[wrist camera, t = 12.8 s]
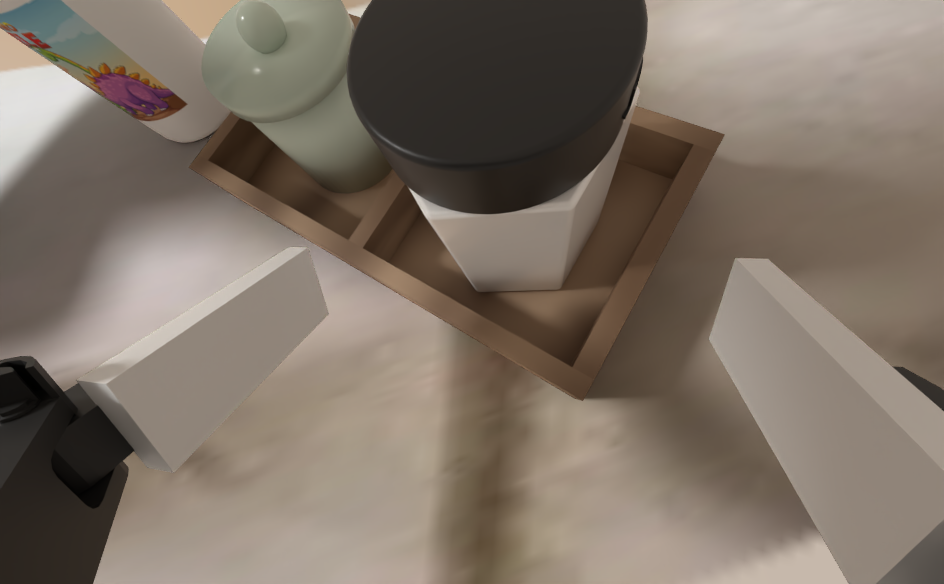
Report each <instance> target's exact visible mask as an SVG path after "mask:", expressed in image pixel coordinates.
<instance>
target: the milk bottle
mask: <svg viewBox="0 0 944 584" xmlns="http://www.w3.org/2000/svg"><path fill="white" fill-rule="evenodd" d="M0 28H1V29H3V30H4V31H6V32H7V33H8V34H10V35H11V36H13V37H14V38H16V39H17V40H19V41H20V42H22V43H23V44H25V45H26V46H28V47H29V48H31V49H32V50H34V51H35V52H37V53H38V54H40V55H41V56H43V57H44V58H46V59H47V60H49V61H50V62H51V63H53V64H54V65H56V66H57V67H59V68H60V69H62V70H63V71H65V72H66V73H68V74H69V75H71V76H72V77H74V78H75V79H77V80H78V81H80V82H81V83H83V84H84V85H86V86H87V87H89V88H90V89H92V90H93V91H95V92H96V93H98V94H99V95H101V96H102V97H104V98H105V99H107V100H108V101H110V102H111V103H113V104H114V105H116V106H117V107H119V108H120V109H122V110H123V111H125V112H126V113H128V114H129V115H131V116H132V117H134V118H135V119H137V120H138V121H140V122H141V123H143V124H144V125H146V126H147V127H149V128H150V129H152V130H154V131H155V132H157V133H158V134H160V135H162V136H163V137H165V138H167V139H169V140H172V141H176V142H183V143H187V142H194V141H197V140H200V139H202V138H204V137H207V136H208V135H210V134H211V133H213V132H214V131H216V130H217V129H218V128H219V127H220V125H221V124H222V123H223V121H224V120H225V119H226V117H227V116H228V115H229V114H230V112H231V111H230V110H229V109H227V108H226V107H225V106H224V105H223V104H222V103H221V102H220V101H218V100H217V99H216V98H215V97H214V96H213V95H212V94H211V93H210V92H209V90H208V89H207V87H206V85H205V83H204V81H203V77H202V69H201V65H202V57H203V52H204V49H205V46H206V45H205V44H204V43H203V42H202V41H201V40H200V39H199V38H198V37H197V36H196V35H195V34H194V33H193V32H192V31H191V30H190V28H189V27H188V26H187V25H185V23H184V22H182V20H181V19H180V18H179V17H178V16H177V15H176V14H175V13H174V12H173V11H172V10H171V9H170V8H169V7H168V6H167V5H166V4H165V3H164V2H163V1H162V0H0Z"/></svg>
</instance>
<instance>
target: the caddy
mask: <svg viewBox="0 0 944 584" xmlns="http://www.w3.org/2000/svg"><path fill="white" fill-rule="evenodd" d="M349 16H350V18H351V20H352V22H353V24H354V28H355V29H356V27H357V25H358V23H359V20H360V17H357V16H354V15H351V14H349ZM724 135H725V134H722V133H718V132H715V131H712V130H709V129H706V128H703V127H700V126H697V125H694V124H690V123H687V122H684V121H681V120H678V119H675V118H672V117H669V116H665V115H662V114H659V113H656V112H653V111H650V110H647V109H644V108H641V107H637V106H636V107H635V110H634V113H633V116H632V119H631V122H630V125H629V128H628V131H627V134H626V138H625V141H624V144H623V147H622V150H621V153H620V156H619V159H618V162H617V165H616V169H615V172H614V175H613V178H612V181H611V184H610V187H609V190H608V193H607V196H606V200H605V203H604V206H603V209H602V212H601V215H600V218H599V221H598V223H597V225H596V227H595V228H594V230H593V232H592V234H591V236H590V237H589V239H588V241H587V243H586V245H585V246H584V248H583V250H582V252H581V253H580V255H579V257H578V259H577V261H576V262H575V264H574V266H573V268H572V270H571V271H570V273H569V275H568V277H567V279H566V280H565V282H564V284H563V286H562V287H561V288H560V289H558V290H530V291H499V292H477V291H476V290H475V289H474V287H473V286H472V285H471V283H470V282H469V280H468V279H467V277H466V276H465V274H464V273H463V271H462V270H461V268H460V267H459V266H458V264H457V263H456V261H455V260H454V258H453V257H452V255H451V254H450V252H449V251H448V250H447V248H446V247H445V245H444V244H443V242H442V241H441V239H440V238H439V236H438V235H437V234H436V232H435V231H434V229H433V228H432V226H431V225H430V223H429V222H428V220H427V219H426V217H425V216H424V214H423V212H422V211H421V209H420V207H419V205H418V204H417V202H416V200H415V198H414V197H413V195H412V193H411V192H410V190H409V188H408V186H407V185H406V184H405V183H404V182H403V181H402V180H401V179H400V178H399V177H398V175H397V174H396V173H395V171H394V170H393V169H392V170H391V171H390V173H389V174H388V175H387V176H386V177H385V178H383V179H382V180H381V181H380V182H378V183H377V184H375V185H374V186H372V187H370V188H368V189H365V190H363V191H359V192H355V193H336V192H332V191H329V190H327V189H325V188H323V187H322V186H321V185H320V184H318V183H317V182H316V181H315V180H314V179H313V178H312V177H311V176H310V175H309V174H307V173H306V172H305V171H304V170H303V169H302V168H301V167H300V166H299V165H298V164H297V163H295V162H294V161H293V160H292V159H291V158H290V157H289V156H288V155H287V154H286V153H285V152H283V151H282V150H281V149H280V148H279V147H278V146H277V145H276V144H275V143H274V142H273V141H271V140H270V139H269V138H268V137H267V136H266V135H265V134H264V133H263V132H262V131H261V130H259V129H258V128H257V127H256V126H255V125H254V124H253V123H252V122H250V121H246V120H244V119H241V118H239V117H238V116H236V115H234V114H233V113H232V112H230V114H229V115H228V116H227V117H226V119H225V120H224V121H223V123H222V124H221V125H220V127H219V128H218V129H217V131H216V132H215V133H214V135H213V136H212V137H211V139H210V140H209V141H208V142H207V144H206V145H205V146H204V148H203V149H202V150H201V152H200V153H199V154H198V156H197V157H196V158H195V160H194V161H193V162H192V163H191V165H190V166H189V168H190V169H192V170H194V171H195V172H197V173H198V174H200V175H202V176H203V177H205V178H206V179H208V180H210V181H211V182H213V183H214V184H216V185H218V186H219V187H221V188H222V189H224V190H226V191H227V192H229V193H230V194H232V195H234V196H235V197H237V198H238V199H240V200H242V201H243V202H245V203H247V204H248V205H250V206H252V207H253V208H255V209H257V210H258V211H260V212H262V213H264V214H265V215H267V216H269V217H270V218H272V219H274V220H275V221H277V222H279V223H280V224H282V225H284V226H285V227H287V228H289V229H290V230H292V231H294V232H295V233H297V234H299V235H301V236H302V237H304V238H306V239H307V240H309V241H311V242H312V243H314V244H316V245H317V246H319V247H321V248H322V249H324V250H326V251H327V252H329V253H331V254H332V255H334V256H336V257H338V258H339V259H341V260H343V261H344V262H346V263H348V264H349V265H351V266H353V267H354V268H356V269H358V270H359V271H361V272H363V273H364V274H366V275H368V276H369V277H371V278H373V279H375V280H376V281H378V282H380V283H381V284H383V285H385V286H386V287H388V288H390V289H391V290H393V291H395V292H396V293H398V294H400V295H401V296H403V297H405V298H406V299H408V300H410V301H412V302H413V303H415V304H417V305H418V306H420V307H422V308H423V309H425V310H427V311H428V312H430V313H432V314H433V315H435V316H437V317H438V318H440V319H442V320H444V321H445V322H447V323H449V324H450V325H452V326H454V327H455V328H457V329H459V330H460V331H462V332H464V333H465V334H467V335H469V336H470V337H472V338H474V339H475V340H477V341H479V342H481V343H482V344H484V345H486V346H487V347H489V348H491V349H492V350H494V351H496V352H497V353H499V354H501V355H502V356H504V357H506V358H507V359H509V360H511V361H512V362H514V363H516V364H518V365H519V366H521V367H523V368H524V369H526V370H528V371H529V372H531V373H533V374H534V375H536V376H538V377H539V378H541V379H543V380H544V381H546V382H548V383H549V384H551V385H553V386H555V387H556V388H558V389H560V390H561V391H563V392H565V393H566V394H568V395H570V396H571V397H573V398H575V399H578V400H582V401H583V400H584V398H585V396H586V394H587V392H588V390H589V388H590V387H591V385H592V383H593V381H594V379H595V377H596V375H597V373H598V372H599V370H600V368H601V366H602V364H603V362H604V360H605V358H606V357H607V355H608V353H609V351H610V349H611V347H612V345H613V343H614V342H615V340H616V338H617V336H618V334H619V332H620V330H621V328H622V327H623V325H624V323H625V321H626V319H627V317H628V315H629V313H630V312H631V310H632V308H633V306H634V304H635V302H636V300H637V298H638V297H639V295H640V293H641V291H642V289H643V287H644V285H645V283H646V281H647V280H648V278H649V276H650V274H651V272H652V270H653V268H654V266H655V265H656V263H657V261H658V259H659V257H660V255H661V253H662V251H663V250H664V248H665V246H666V244H667V242H668V240H669V238H670V236H671V235H672V233H673V231H674V229H675V227H676V225H677V223H678V221H679V220H680V218H681V216H682V214H683V212H684V210H685V208H686V206H687V205H688V203H689V201H690V199H691V197H692V195H693V193H694V191H695V190H696V188H697V186H698V184H699V182H700V180H701V178H702V176H703V175H704V173H705V171H706V169H707V167H708V165H709V163H710V161H711V159H712V158H713V156H714V154H715V152H716V150H717V148H718V146H719V144H720V143H721V141H722V139H723V137H724Z"/></svg>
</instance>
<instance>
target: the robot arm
mask: <svg viewBox="0 0 944 584" xmlns="http://www.w3.org/2000/svg"><path fill="white" fill-rule="evenodd" d="M328 314H329V313H328V310H327V307H326V303H325V300H324V297H323V294H322V291H321V287H320V284H319V281H318V278H317V274H316V271H315V268H314V265H313V262H312V258H311V255H310V252H309V249H308V247H288V248H286V249H285V250H283V251H282V252H280V253H278V254H277V255H275V256H274V257H272V258H270V259H269V260H267V261H266V262H264V263H262V264H261V265H259V266H258V267H256V268H254V269H253V270H251V271H250V272H248V273H246V274H245V275H243V276H242V277H240V278H238V279H237V280H235V281H234V282H232V283H230V284H229V285H227V286H226V287H224V288H222V289H221V290H219V291H218V292H216V293H214V294H213V295H211V296H210V297H208V298H206V299H205V300H203V301H202V302H200V303H198V304H197V305H195V306H194V307H192V308H190V309H189V310H187V311H186V312H184V313H182V314H181V315H179V316H178V317H176V318H175V319H173V320H171V321H170V322H168V323H167V324H165V325H163V326H162V327H160V328H159V329H157V330H155V331H154V332H152V333H151V334H149V335H147V336H146V337H144V338H143V339H141V340H139V341H138V342H136V343H135V344H133V345H131V346H130V347H128V348H127V349H125V350H123V351H122V352H120V353H119V354H117V355H115V356H114V357H112V358H111V359H109V360H107V361H106V362H104V363H103V364H101V365H99V366H98V367H96V368H95V369H93V370H91V371H90V372H88V373H87V374H85V375H83V376H82V377H80V378H79V379H77V380H76V381H77V382H78V384H76V385H75V386H73V387H71V388H70V389H68V390H66V391H65V392H63V391H62V390H61V388H60V387H59V386H58V385H57V384H56V383H55V381H54V380H53V379H52V378H51V377H50V376H49V374H48V373H47V372H46V371H45V370H44V369H43V367H42V366H41V365H40V364H39V363H38V362H37V360H36V359H34V358H33V357H31V356H20V357H14V358H9V359H4V360H1V361H0V584H93V582H94V579H95V576H96V573H97V570H98V566H99V563H100V560H101V557H102V554H103V551H104V548H105V545H106V542H107V539H108V536H109V533H110V529H111V526H112V523H113V520H114V517H115V514H116V511H117V508H118V505H119V502H120V499H121V496H122V493H123V489H124V486H125V483H126V480H127V477H128V467H127V465H126V464H125V463H124V462H123V460H124V459H125V458H126V457H127V456H129V455H130V454H131V453H132V452H133V451H134V452H135V453H136V454H137V455H138V457H139V458H140V459H141V460H142V462H143V463H144V464H145V465H146V467H147V468H151V469H157V470H162V471H167V472H173V473H174V472H175V471H176V470H177V469H178V468H179V467H180V466H181V465H182V464H183V463H184V462H185V461H186V460H187V459H188V458H189V457H190V456H191V455H192V454H193V453H194V452H195V451H196V450H197V449H198V448H199V446H200V445H201V444H202V443H203V442H204V441H205V440H206V439H207V438H208V437H209V436H210V435H211V434H212V433H213V432H214V431H215V430H216V429H217V428H218V427H219V426H220V425H221V424H222V423H223V422H224V421H225V420H226V419H227V418H228V417H229V416H230V415H231V414H232V413H233V412H234V411H235V410H236V409H237V408H238V406H239V405H240V404H241V403H242V402H243V401H244V400H245V399H246V398H247V397H248V396H249V395H250V394H251V393H252V392H253V391H254V390H255V389H256V388H257V387H258V386H259V385H260V384H261V383H262V382H263V381H264V380H265V379H266V378H267V377H268V376H269V375H270V374H271V373H272V372H273V371H274V370H275V369H276V368H277V366H278V365H279V364H280V363H281V362H282V361H283V360H284V359H285V358H286V357H287V356H288V355H289V354H290V353H291V352H292V351H293V350H294V349H295V348H296V347H297V346H298V345H299V344H300V343H301V342H302V341H303V340H304V339H305V338H306V337H307V336H308V335H309V334H310V333H311V332H312V331H313V330H314V329H315V328H316V326H317V325H318V324H319V323H320V322H321V321H322V320H323V319H324V318H325V317H326V316H327V315H328ZM709 341H710V342H711V344H712V346H713V348H714V349H715V351H716V353H717V355H718V356H719V358H720V360H721V362H722V363H723V365H724V367H725V369H726V370H727V372H728V374H729V376H730V377H731V379H732V381H733V383H734V384H735V386H736V388H737V390H738V391H739V393H740V395H741V397H742V398H743V400H744V402H745V403H746V405H747V407H748V409H749V410H750V412H751V414H752V416H753V417H754V419H755V421H756V423H757V424H758V426H759V428H760V430H761V431H762V433H763V435H764V437H765V438H766V440H767V442H768V444H769V445H770V447H771V449H772V451H773V452H774V454H775V456H776V458H777V459H778V461H779V463H780V465H781V466H782V468H783V470H784V472H785V473H786V475H787V477H788V479H789V480H790V482H791V484H792V486H793V487H794V489H795V491H796V493H797V494H798V496H799V498H800V499H801V501H802V503H803V505H804V506H805V508H806V510H807V512H808V513H809V515H810V517H811V519H812V520H813V522H814V524H815V526H816V527H817V529H818V531H819V533H820V534H821V536H822V538H823V540H824V541H825V543H826V545H827V547H828V548H829V550H830V552H831V553H832V555H833V557H834V559H835V561H836V562H837V564H838V566H839V568H840V569H841V571H842V573H843V575H844V576H845V578H846V580H847V581H848V583H849V584H944V390H942V389H941V388H940V387H938V386H936V385H934V384H932V383H931V382H929V381H927V380H925V379H923V378H921V377H920V376H918V375H916V374H914V373H912V372H911V371H909V370H907V369H905V368H903V367H892V366H891V365H890V364H888V363H887V362H886V361H885V360H884V359H883V358H882V357H880V356H879V355H878V354H877V353H876V352H875V351H873V350H872V349H871V348H870V347H869V346H868V345H867V344H865V343H864V342H863V341H862V340H861V339H860V338H858V337H857V336H856V335H855V334H854V333H853V332H852V331H850V330H849V329H848V328H847V327H846V326H845V325H843V324H842V323H841V322H840V321H839V320H838V319H837V318H835V317H834V316H833V315H832V314H831V313H830V312H828V311H827V310H826V309H825V308H824V307H823V306H822V305H820V304H819V303H818V302H817V301H816V300H815V299H813V298H812V297H811V296H810V295H809V294H808V293H807V292H805V291H804V290H803V289H802V288H801V287H800V286H798V285H797V284H796V283H795V282H794V281H793V280H792V279H790V278H789V277H788V276H787V275H786V274H785V273H783V272H782V271H781V270H780V269H779V268H778V267H777V266H775V265H774V264H773V263H772V262H771V261H770V260H768V259H759V258H735V260H734V263H733V266H732V269H731V272H730V276H729V279H728V282H727V285H726V288H725V291H724V294H723V297H722V300H721V303H720V306H719V309H718V312H717V315H716V318H715V321H714V324H713V328H712V331H711V334H710V337H709Z"/></svg>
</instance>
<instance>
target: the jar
mask: <svg viewBox="0 0 944 584" xmlns="http://www.w3.org/2000/svg"><path fill="white" fill-rule="evenodd" d="M647 22H648V18H647V9H646V4H645V0H372V1H371V2H370V4H369V5H368V7H367V8H366V10H365V11H364V13H363V15H362V17H361V18H360V20H359V23H358V25H357V27H356V29H355V32H354V34H353V37H352V40H351V44H350V48H349V53H348V60H347V85H348V90H349V95H350V98H351V101H352V104H353V107H354V110H355V112H356V114H357V116H358V118H359V120H360V121H361V123H362V124H363V126H364V127H365V129H366V130H367V132H368V133H369V135H370V136H371V138H372V139H373V141H374V142H375V144H376V145H377V146H378V148H379V149H380V151H381V152H382V154H383V155H384V157H385V158H386V160H387V161H388V163H389V164H390V165H391V167H392V168H393V170H394V171H395V173H396V174H397V175H398V177H399V178H400V179H401V180H402V181H403V182H404V183H405V184H406V185H407V186H408V188H409V190H410V192H411V193H412V195H413V197H414V198H415V200H416V202H417V204H418V205H419V207H420V209H421V211H422V212H423V214H424V216H425V217H426V219H427V220H428V222H429V223H430V225H431V226H432V228H433V229H434V231H435V232H436V234H437V235H438V236H439V238H440V239H441V241H442V242H443V244H444V245H445V247H446V248H447V250H448V251H449V252H450V254H451V255H452V257H453V258H454V260H455V261H456V263H457V264H458V266H459V267H460V268H461V270H462V271H463V273H464V274H465V276H466V277H467V279H468V280H469V282H470V283H471V285H472V286H473V287H474V289H475V290H476V291H477V292H499V291H530V290H558V289H560V288H561V287H562V286H563V284H564V282H565V280H566V279H567V277H568V275H569V273H570V271H571V270H572V268H573V266H574V264H575V262H576V261H577V259H578V257H579V255H580V253H581V252H582V250H583V248H584V246H585V245H586V243H587V241H588V239H589V237H590V236H591V234H592V232H593V230H594V228H595V227H596V225H597V223H598V221H599V218H600V215H601V212H602V209H603V206H604V203H605V200H606V196H607V193H608V190H609V187H610V184H611V181H612V178H613V175H614V172H615V169H616V165H617V162H618V159H619V156H620V153H621V150H622V147H623V144H624V141H625V138H626V134H627V131H628V128H629V125H630V122H631V119H632V116H633V113H634V110H635V107H636V104H637V100H638V97H639V93H640V90H639V88H638V86H637V85H638V81H639V78H640V74H641V69H642V63H643V54H644V50H645V45H646V39H647Z"/></svg>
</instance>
